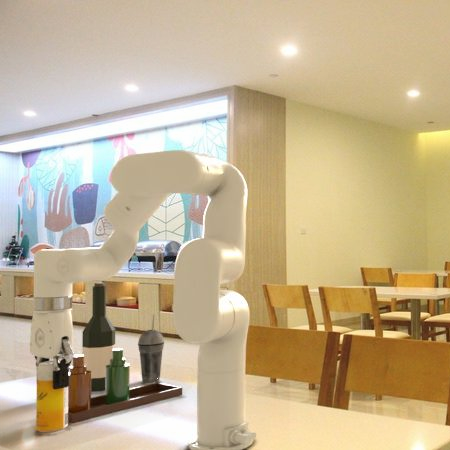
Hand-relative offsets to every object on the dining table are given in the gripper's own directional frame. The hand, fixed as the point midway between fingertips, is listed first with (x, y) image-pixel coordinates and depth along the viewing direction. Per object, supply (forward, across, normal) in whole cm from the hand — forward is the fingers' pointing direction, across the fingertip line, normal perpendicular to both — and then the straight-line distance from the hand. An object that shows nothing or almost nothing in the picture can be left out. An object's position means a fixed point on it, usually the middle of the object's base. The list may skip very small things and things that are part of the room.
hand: (52, 385), depth 135 cm
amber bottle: (+9, -5, +8) cm, 14 cm away
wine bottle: (+10, -26, +26) cm, 38 cm away
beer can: (+10, 0, 0) cm, 10 cm away
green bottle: (+9, -5, +18) cm, 21 cm away
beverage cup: (+10, -21, +39) cm, 45 cm away
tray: (+10, -5, +19) cm, 22 cm away
